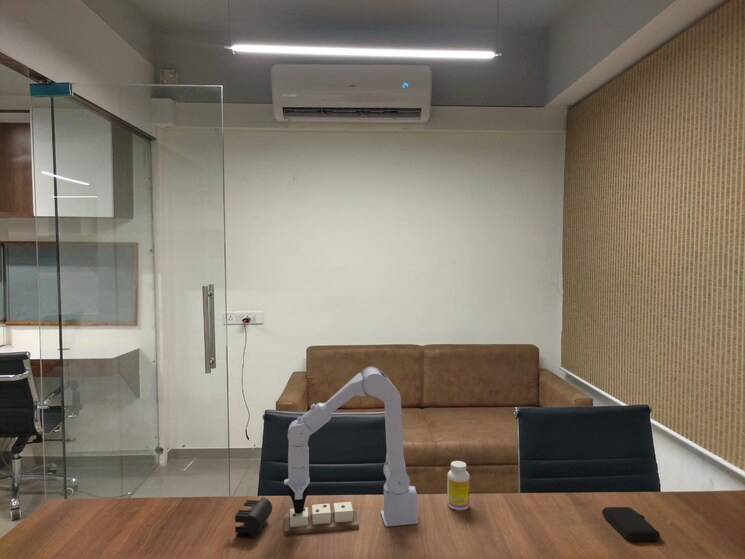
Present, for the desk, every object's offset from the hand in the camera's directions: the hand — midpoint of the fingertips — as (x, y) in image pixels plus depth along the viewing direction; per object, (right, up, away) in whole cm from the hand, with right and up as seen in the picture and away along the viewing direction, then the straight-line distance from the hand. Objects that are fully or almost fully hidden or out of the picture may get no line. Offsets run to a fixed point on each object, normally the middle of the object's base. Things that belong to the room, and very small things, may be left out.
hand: (298, 512), depth 132 cm
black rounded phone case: (+93, -4, -1) cm, 93 cm away
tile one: (+12, -2, +2) cm, 13 cm away
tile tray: (+6, -4, +1) cm, 7 cm away
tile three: (0, -3, 0) cm, 3 cm away
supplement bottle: (+47, -4, +11) cm, 48 cm away
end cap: (-12, -4, -2) cm, 13 cm away
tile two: (+6, -3, +1) cm, 7 cm away
